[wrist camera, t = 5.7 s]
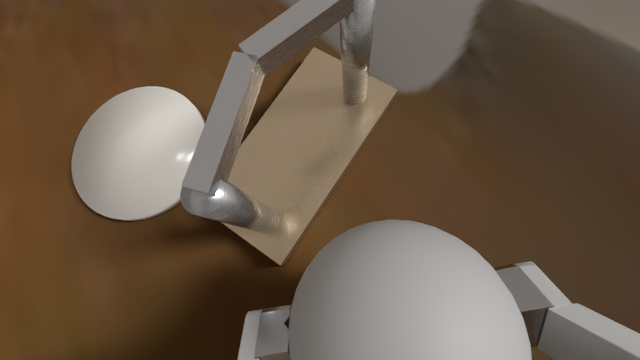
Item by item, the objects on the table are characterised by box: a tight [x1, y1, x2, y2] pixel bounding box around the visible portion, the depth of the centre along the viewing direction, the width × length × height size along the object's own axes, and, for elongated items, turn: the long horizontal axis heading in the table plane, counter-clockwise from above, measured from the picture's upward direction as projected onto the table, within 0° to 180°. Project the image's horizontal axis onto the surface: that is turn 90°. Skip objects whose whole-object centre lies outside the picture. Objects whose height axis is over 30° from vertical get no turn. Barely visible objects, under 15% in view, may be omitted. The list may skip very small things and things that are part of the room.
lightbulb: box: [288, 219, 532, 360], centre depth 11 cm, size 6×6×11 cm
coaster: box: [71, 86, 206, 221], centre depth 19 cm, size 9×9×1 cm
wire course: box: [180, 0, 398, 266], centre depth 14 cm, size 6×12×9 cm, turn 146°
